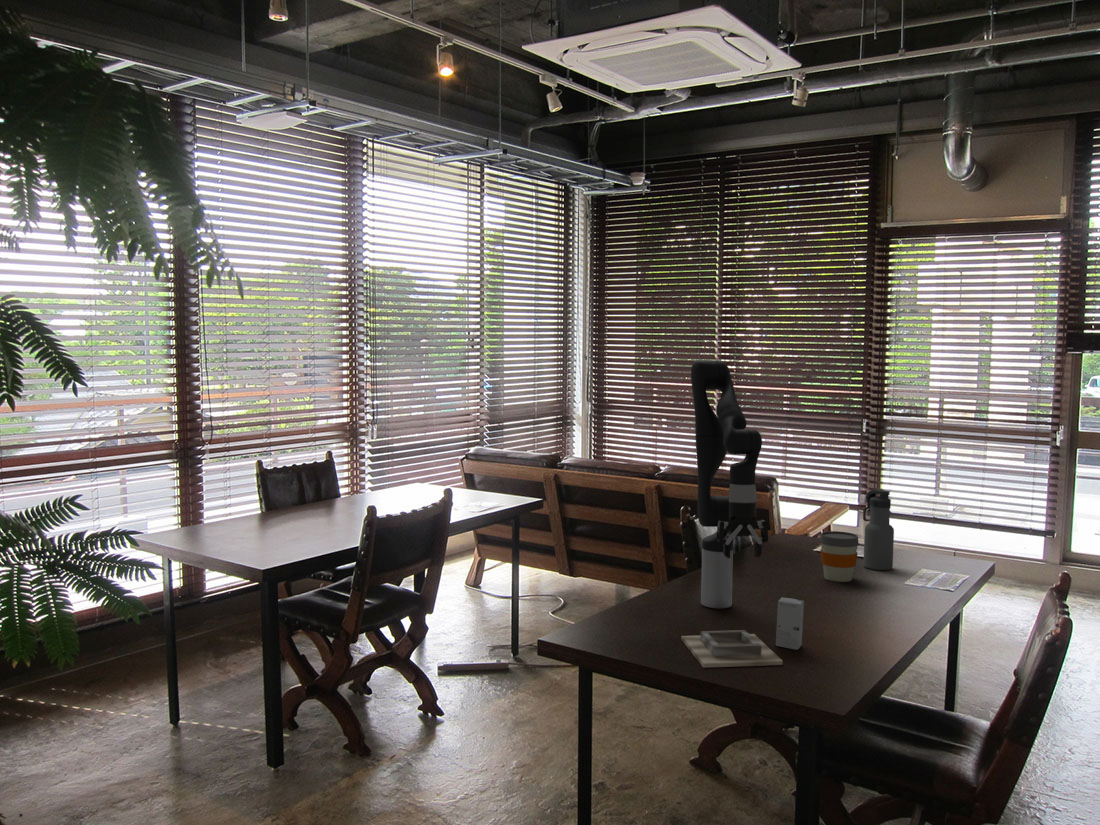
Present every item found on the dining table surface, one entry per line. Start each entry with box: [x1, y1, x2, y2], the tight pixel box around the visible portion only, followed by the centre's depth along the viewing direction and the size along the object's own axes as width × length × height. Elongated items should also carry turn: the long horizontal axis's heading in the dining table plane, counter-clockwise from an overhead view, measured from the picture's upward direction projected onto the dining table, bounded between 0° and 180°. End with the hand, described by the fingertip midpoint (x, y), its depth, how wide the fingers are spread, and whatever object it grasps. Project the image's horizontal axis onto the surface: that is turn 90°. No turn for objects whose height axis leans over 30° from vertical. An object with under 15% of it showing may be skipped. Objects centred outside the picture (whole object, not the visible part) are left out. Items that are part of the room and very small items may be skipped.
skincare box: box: [775, 596, 805, 651], centre depth 219 cm, size 6×4×12 cm
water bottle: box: [862, 489, 895, 571], centre depth 300 cm, size 10×10×28 cm
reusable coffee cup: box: [819, 530, 860, 583], centre depth 286 cm, size 13×13×15 cm
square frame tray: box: [681, 629, 784, 669], centre depth 214 cm, size 20×20×4 cm
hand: (742, 557), depth 236 cm, fingers open, 8 cm apart
